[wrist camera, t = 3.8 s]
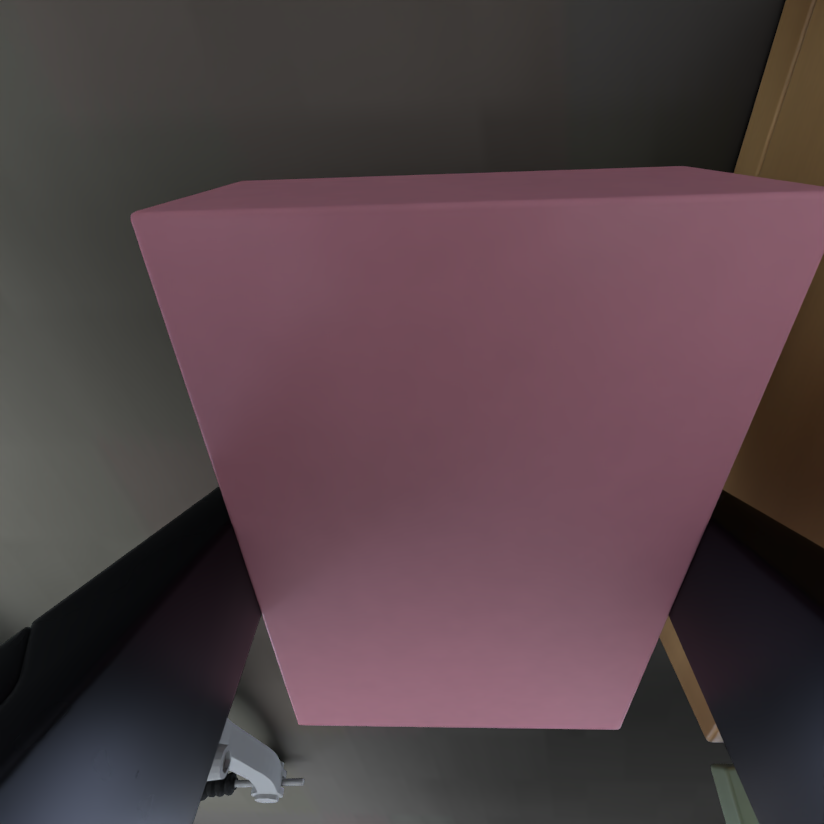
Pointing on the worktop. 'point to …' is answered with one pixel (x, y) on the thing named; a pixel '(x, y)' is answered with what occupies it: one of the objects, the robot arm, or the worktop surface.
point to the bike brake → (246, 767)
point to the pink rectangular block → (476, 417)
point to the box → (813, 327)
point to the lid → (732, 795)
